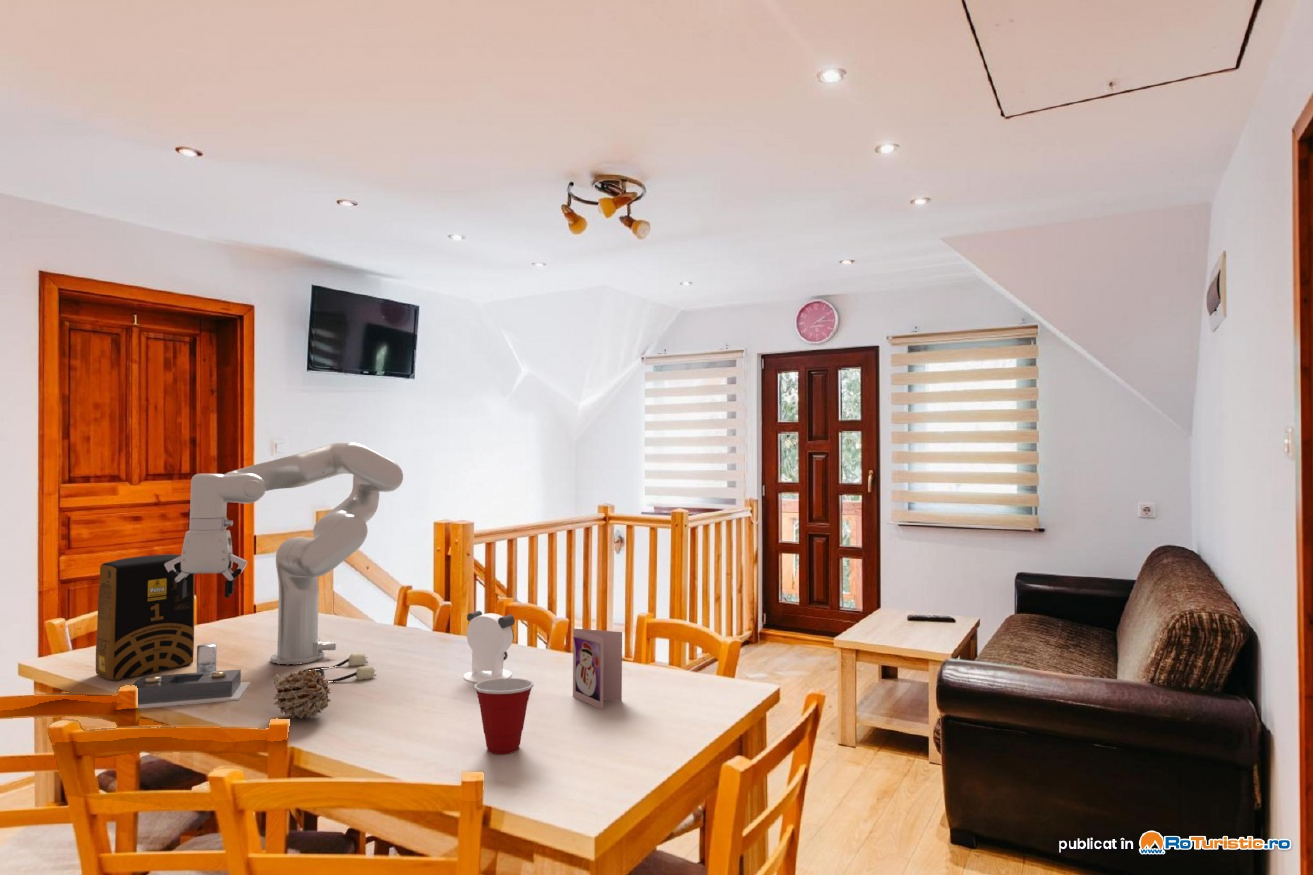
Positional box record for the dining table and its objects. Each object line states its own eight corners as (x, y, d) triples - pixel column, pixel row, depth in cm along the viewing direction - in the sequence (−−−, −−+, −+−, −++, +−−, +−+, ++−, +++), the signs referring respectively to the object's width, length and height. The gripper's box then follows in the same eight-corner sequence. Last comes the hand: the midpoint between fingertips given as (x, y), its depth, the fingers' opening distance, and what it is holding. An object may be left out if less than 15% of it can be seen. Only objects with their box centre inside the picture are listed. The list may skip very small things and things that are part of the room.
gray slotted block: (240, 684, 172) (240, 665, 172) (231, 696, 164) (232, 676, 164) (141, 692, 166) (141, 673, 166) (126, 705, 157) (127, 684, 158)
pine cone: (344, 719, 151) (345, 669, 152) (297, 733, 144) (298, 681, 144) (290, 697, 165) (291, 651, 165) (244, 708, 157) (245, 661, 157)
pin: (218, 676, 180) (218, 642, 180) (213, 680, 176) (214, 646, 176) (199, 677, 179) (199, 643, 179) (194, 682, 175) (195, 647, 175)
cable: (307, 690, 171) (307, 675, 171) (299, 672, 185) (300, 658, 185) (379, 680, 179) (379, 665, 179) (366, 664, 193) (366, 650, 193)
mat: (250, 683, 174) (250, 682, 174) (238, 699, 163) (239, 698, 163) (134, 693, 167) (134, 691, 167) (114, 710, 155) (114, 708, 155)
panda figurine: (523, 673, 184) (523, 611, 184) (494, 685, 174) (495, 621, 174) (483, 667, 189) (484, 607, 189) (453, 679, 179) (454, 616, 179)
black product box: (198, 664, 190) (200, 553, 191) (110, 683, 174) (113, 562, 174) (177, 657, 196) (180, 550, 196) (90, 675, 180) (93, 558, 180)
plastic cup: (536, 736, 143) (537, 673, 143) (529, 759, 132) (529, 691, 132) (479, 737, 142) (480, 673, 143) (467, 760, 132) (467, 691, 132)
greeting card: (569, 696, 166) (570, 629, 167) (596, 690, 171) (597, 624, 171) (599, 710, 158) (600, 638, 158) (627, 703, 162) (628, 633, 163)
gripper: (252, 523, 185) (249, 593, 184) (172, 524, 180) (169, 595, 179) (244, 526, 177) (241, 598, 177) (160, 526, 173) (158, 601, 172)
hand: (205, 597), depth 178 cm, fingers open, 9 cm apart
